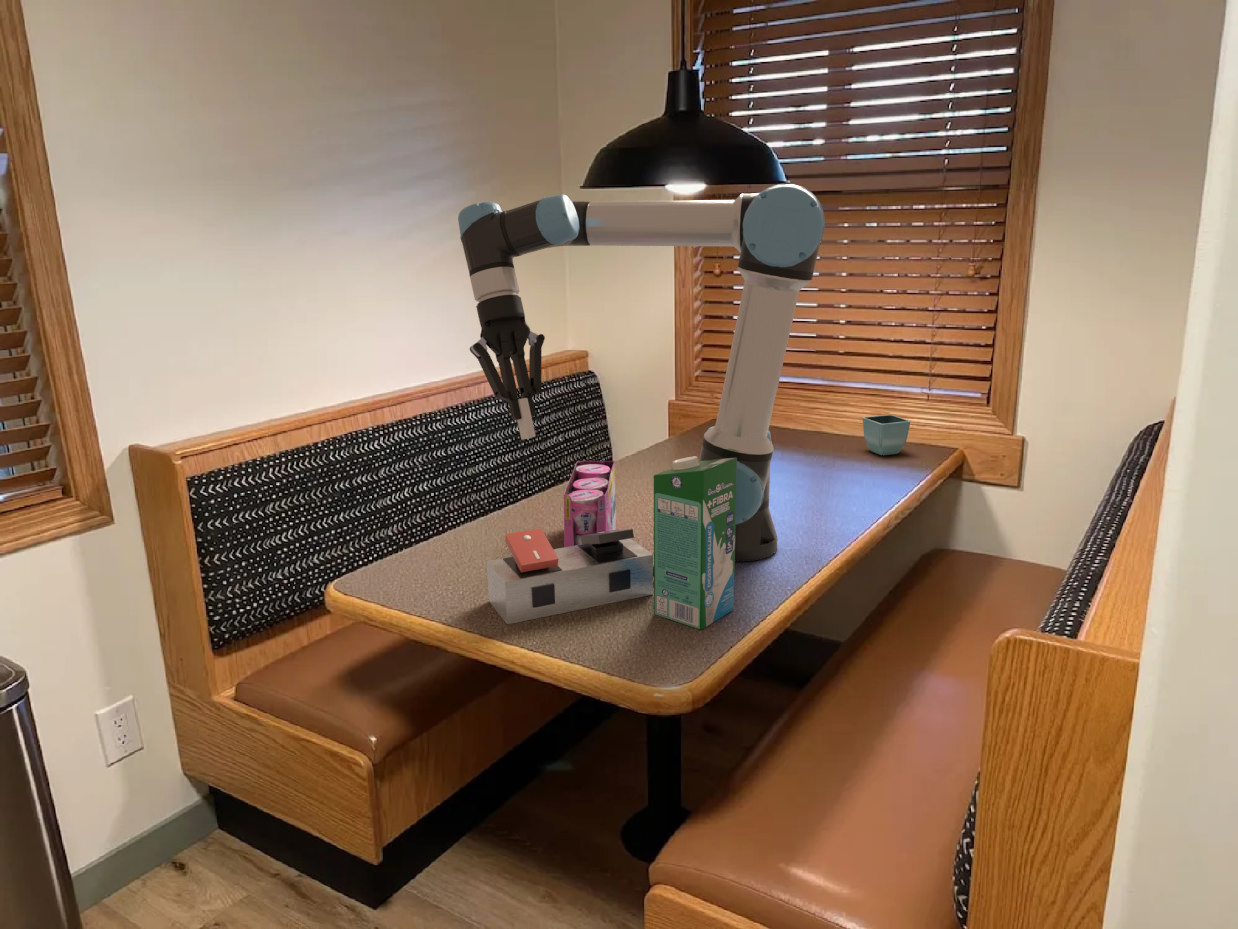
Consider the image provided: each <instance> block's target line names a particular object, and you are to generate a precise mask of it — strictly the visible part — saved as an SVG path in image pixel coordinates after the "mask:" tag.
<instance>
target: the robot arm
mask: <svg viewBox="0 0 1238 929" xmlns="http://www.w3.org/2000/svg"><path fill="white" fill-rule="evenodd" d="M457 221H458V227H459V234H460V237H459V238H460V242H461V245H462V248H463V253H464V257H465V261H466V265H467V269H468V273H469V278H470V284H471V288H472V292H473V293H472V294H473V298H474V300H475V301H476V302H478V303H476V306H475V307H476V312H477V315H478V316H477V317H478V321H479V325H480V329H481V331H480V333H479V334H480V335H479V336H480V339H479V340H477V342H475V343H474V344H473V345H471V346H470V347H469V351H470V353H471V354H473V356H474V357H475V358H476V359H477V360H478V363H479V365H480V367H481V369H482V371H483V373H484V376H485V378H486V380H487V381H488V383H489V386H490V389H491V391H492V392H493V394H494V397H495V398H496V399H497V400H503V401H505V403H508V407H509V412H510V416H511V419H512V421H516V422H517V426H518V430H519V434H520V439H521V441H523V440H529V439H533V438H535V437H536V431H535V426H534V422H533V417H536V409H535V405H534V400H533V397H534V396H535V394H537V393H539V392H541V391H542V348H543V346H544V341H545V340H546V337H545V334H542V333H540V334H538V333H536V332H533V331H532V330H531V327H530V326H529V325H528V323H527V322H526V315H525V310H524V307H523V306H524V305H523V301H522V297H521V296H520V295H519V293H520V288H519V283H518V279H517V275H516V269H515V265H514V260H513V258H515V257H516V258H517V257H520V256H523V255H526V254H530V253H533V252H534V253H535V252H537V251H541V250H544V249H550V248H558V247H569V246H570V247H573V246H574V247H589V246H591V247H592V246H595V247H597V246H602V247H603V246H604V247H608V246H610V247H611V246H612V247H613V246H615V247H617V246H618V247H622V246H623V247H624V246H625V247H627V246H628V247H630V246H632V247H634V246H635V247H733V248H735V249H736V250H737V251H738V253H739V257H738V258H739V259H738V264H737V270H738V272H739V273H740V275H741V277H742V279H743V281H744V283H743V288H742V292H741V297H740V302H739V308H738V312H737V317H736V318H737V319H736V323H735V327H734V332H733V337H732V343H731V347H730V352H729V356H728V362H727V367H726V372H725V377H724V382H723V387H722V391H721V397H720V402H719V405H718V406H719V407H718V411H717V416H716V420H715V425H714V426H710V427H709V428H708V429H707V430H706V432H704V435H703V437H702V438H703V439H702V444H701V448H700V454H699V457H698V461H706V460H715V459H725V458H735V457H736V458H737V478H736V523H735V562H753V561H759V560H758V559H760V560H763V559H762V558H764V559H767V558H769V557H771V556H773V555H774V554H775V553H776V552H777V550H778V534H777V531H776V528H775V525H774V520H773V518H772V515H771V511H770V489H771V488H770V487H771V486H770V484H771V462H772V459H773V453H774V450H775V449H774V448H775V447H774V446H773V443H772V434H771V431H770V430H769V429H770V424H771V420H772V415H773V411H774V406H775V402H776V397H777V393H778V388H779V384H780V380H781V375H782V370H783V365H784V361H785V357H786V352H787V347H788V343H789V339H790V333H791V331H792V330H791V329H792V324H793V320H794V316H795V311H796V307H797V302H798V298H799V294H800V291H801V290H802V289H803V288H804V287H806V286H808V285H809V284H811V283H812V282H813V281H812V280H813V276H814V272H815V268H816V263H817V260H818V255H819V250H820V245H821V242H822V239H823V236H824V233H825V227H826V218H825V213H824V210H823V206H822V204H821V202H820V201H819V199H818V198H817V196H815V194H814V193H813V192H812V191H810V190H809V189H807V188H806V187H805V186H801V185H797V184H794V183H778V184H775V185H771V186H769V187H766V188H765V189H764V190H762V191H761V192H756V193H741V194H740V195H739V196H738V197H736V199H710V200H709V199H703V200H701V199H700V200H698V199H697V200H695V199H694V200H692V199H691V200H690V199H689V200H688V199H686V200H682V199H681V200H611V201H610V200H605V201H603V200H602V201H601V200H598V201H596V200H594V201H584V200H583V201H581V200H580V201H579V200H578V201H577V200H576V201H573V200H571V199H570V198H569V196H568V195H566V194H562V193H559V194H556V195H552V196H545V197H542V199H538V200H535V201H532V202H529V203H527V204H523V205H520V206H517V207H514V208H512V209H507V210H502V207H501V206H500V204H498V203H496V202H493V201H484V202H480V203H479V202H478V203H473V204H470V205H467V206H466V207H464V208H463V209H462V210H460V212H459V213H458V217H457ZM527 341H528V342H527ZM526 343H527V344H528V345H529V346H530V347H529V352H528V353H529V361H528V362H529V364H528V365H529V366H528V367H529V370H528V368H527V363H526V358H525V356H526V355H525V354H526V352H525V346H526ZM488 348H489V349H490V350H491V351H492V352H493V354H494V355H495V358H496V362H497V363H498V368H499V372H500V375H499V372H498V370H497V367H496V365H495V364H494V361H493V359H492V357H491V355H490V354H489V352H488ZM512 363H513V366H512ZM513 367H514V368H513ZM528 371H529V372H528ZM514 373H515V375H514ZM515 378H516V380H515ZM516 381H517V382H516ZM516 383H517V384H516ZM517 387H518V389H517ZM518 391H519V393H518ZM519 395H520V398H518V397H519ZM774 552H775V553H774ZM773 553H774V554H773ZM772 554H773V555H772ZM770 555H771V556H770ZM766 557H767V558H766Z"/></svg>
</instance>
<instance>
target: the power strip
mask: <svg viewBox="0 0 1238 929" xmlns="http://www.w3.org/2000/svg"><path fill="white" fill-rule="evenodd" d="M553 550H554V552H555V554H556V555H557V557H558V566H554V567H549V568H543V569H538V570H532V571H527V572H521V571H520V569H519V567H518V565H517V563H516V562H515V560H514V558H513V556H512V555H511V556H508V557H503V558H496V559H490V560H486V570H487V571H486V574H487V588H488V589H487V590H488V593H487V594H488V603H489V604H490V605H491V606H492V607H493V608H494V610H495V612H497V614H498V615H499V616H500V618H501V619H502V620H503V621H504V623H505V624H506V625H512V624H515V623H522V622H527V621H530V620H536V619H541V618H546V617H550V616H554V615H560V614H565V613H569V612H574V611H579V610H580V611H581V610H585V609H588V608H594V607H599V606H604V605H608V604H614V603H620V602H623V601H627V600H632V599H637V598H643V597H647V596H651V595H653V596H654V553H651V552H650V551H649V550H648V549H646V548H645V547H643V546H641V544H639V542H636V541H635V540H633V538H630V539H624V540H619V541H613V542H607V543H602V544H581V545H575V546H570V547H564V546H563V547H560V548H553Z"/></svg>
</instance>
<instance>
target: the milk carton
mask: <svg viewBox="0 0 1238 929" xmlns="http://www.w3.org/2000/svg"><path fill="white" fill-rule="evenodd" d="M736 478H737V458H736V457H735V458H725V459H715V460H706V461H699V457H698V456H694V455H693V456H688V457H683V458H678V459H675V460H673V461H672V467H671V468H669V469H667V470H663V471H661V472H659V473H655V474H653V567H654V577H653V615H655V616H658V617H661V618H665V619H667V620H670V621H674V622H676V623H680V624H682V625H686V626H689V627H691V628H695V629H697V630H699V631H700V630H701V631H702V630H704V629H705V628H707V627H708V626H710V625H712V624H713V623H715V622H717V621H718V620H720V619H722V618H723V617H724V616H726V615H728V614H729V613H731V612H732V611H734V609H735V608H734V607H735V605H734V604H735V600H734V599H735V598H734V597H735V562H736V561H735V523H736Z"/></svg>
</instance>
